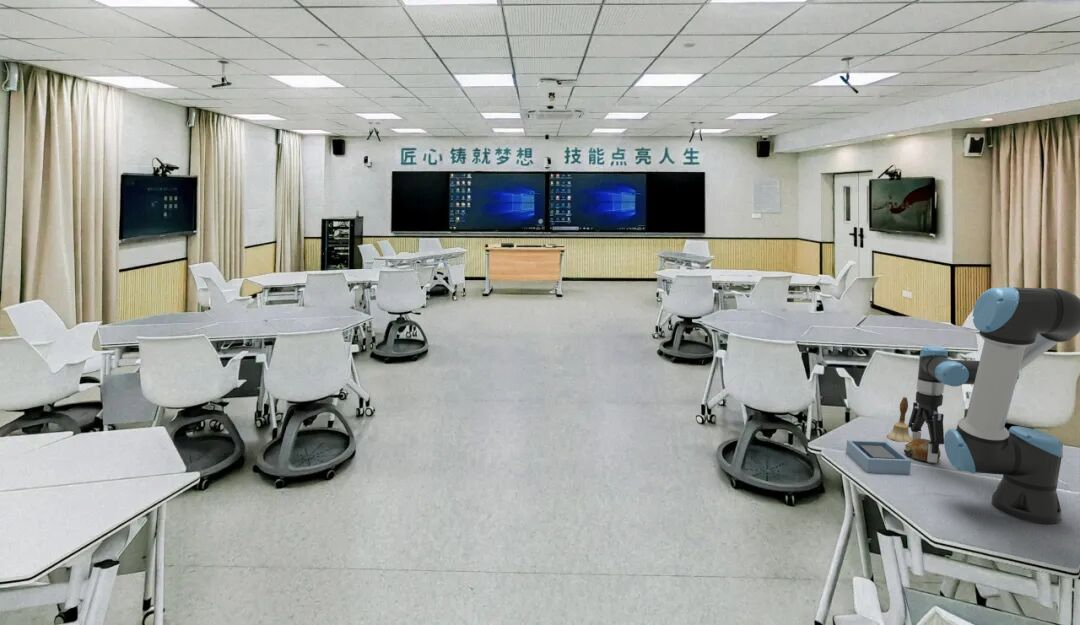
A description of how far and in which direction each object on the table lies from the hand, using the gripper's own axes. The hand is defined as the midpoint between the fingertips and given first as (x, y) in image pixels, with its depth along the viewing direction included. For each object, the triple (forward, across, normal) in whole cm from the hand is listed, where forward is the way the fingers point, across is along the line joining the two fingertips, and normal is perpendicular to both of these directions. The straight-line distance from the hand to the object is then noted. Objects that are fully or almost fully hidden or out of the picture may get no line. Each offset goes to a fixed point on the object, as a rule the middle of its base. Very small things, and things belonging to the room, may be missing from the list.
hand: (923, 455), depth 198 cm
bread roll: (+1, 0, 0) cm, 1 cm away
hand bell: (+1, +20, -2) cm, 20 cm away
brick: (+1, -6, +18) cm, 19 cm away
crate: (+2, -6, +18) cm, 19 cm away
